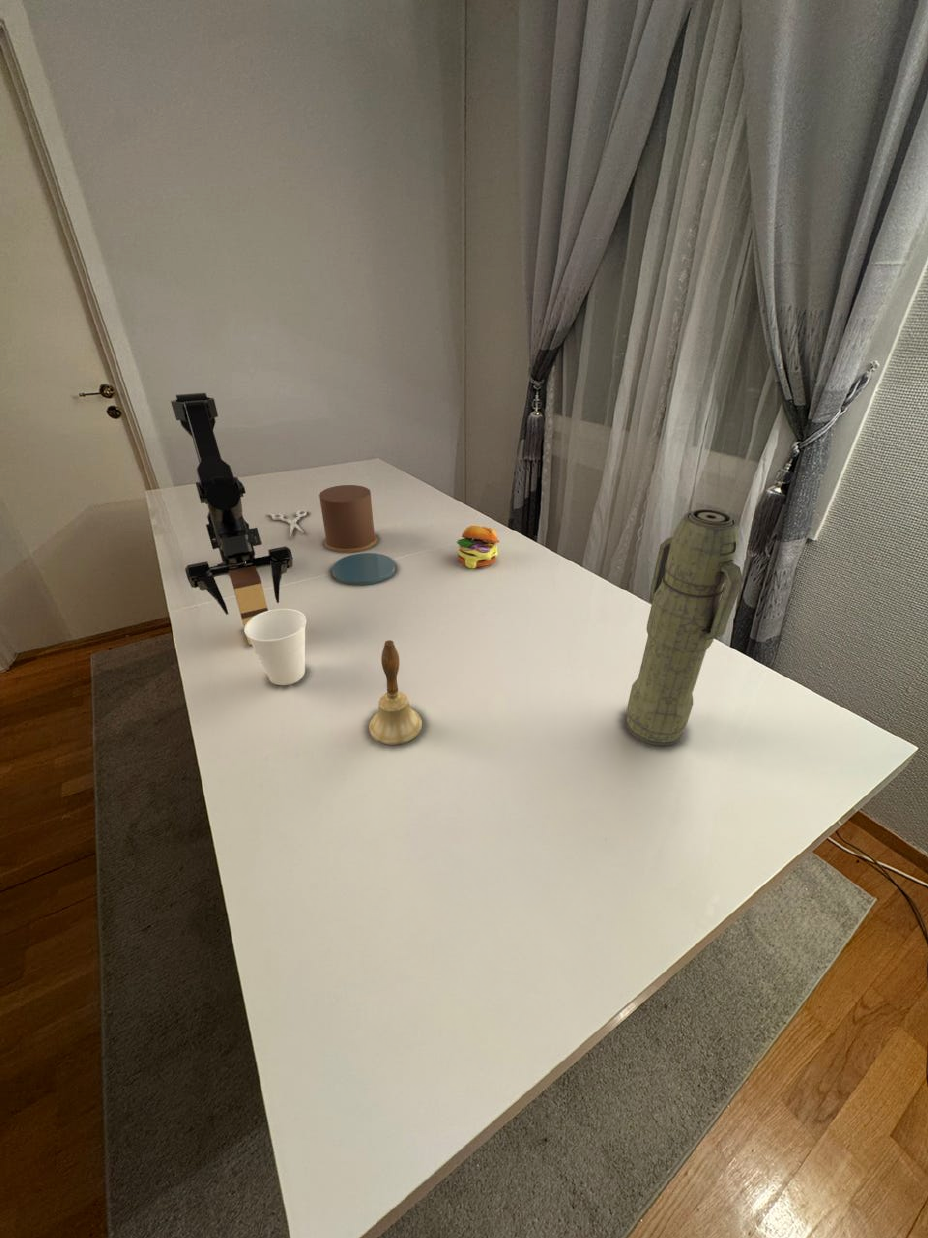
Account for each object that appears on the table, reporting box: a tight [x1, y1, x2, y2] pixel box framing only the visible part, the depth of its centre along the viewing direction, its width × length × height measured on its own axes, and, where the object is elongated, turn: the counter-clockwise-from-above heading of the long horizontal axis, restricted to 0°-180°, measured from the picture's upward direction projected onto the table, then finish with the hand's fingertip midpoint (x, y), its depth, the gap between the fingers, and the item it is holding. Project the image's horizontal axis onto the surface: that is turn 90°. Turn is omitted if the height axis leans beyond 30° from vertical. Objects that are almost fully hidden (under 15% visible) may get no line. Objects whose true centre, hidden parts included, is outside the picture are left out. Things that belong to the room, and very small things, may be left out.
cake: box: [318, 484, 378, 553], centre depth 137 cm, size 14×14×13 cm
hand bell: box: [368, 640, 423, 746], centre depth 77 cm, size 8×8×16 cm
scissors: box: [268, 509, 308, 537], centre depth 149 cm, size 11×1×20 cm
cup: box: [243, 608, 307, 686], centre depth 89 cm, size 10×10×11 cm
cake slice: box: [228, 566, 269, 646], centre depth 99 cm, size 6×5×13 cm
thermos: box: [624, 508, 744, 747], centre depth 72 cm, size 9×12×35 cm
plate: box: [331, 552, 396, 586], centre depth 126 cm, size 15×15×1 cm
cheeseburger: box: [456, 525, 500, 569], centre depth 129 cm, size 10×11×10 cm
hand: (253, 608), depth 98 cm, fingers open, 9 cm apart
